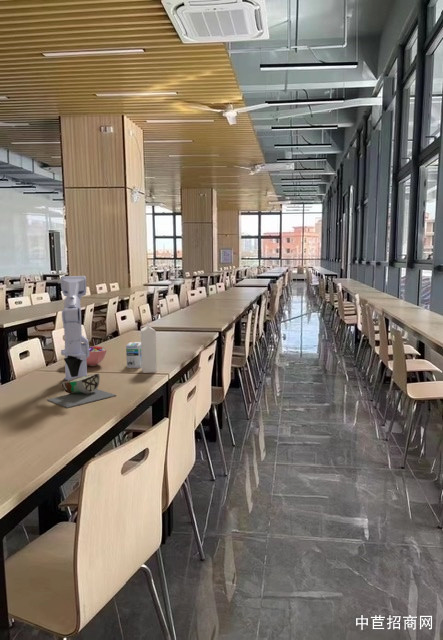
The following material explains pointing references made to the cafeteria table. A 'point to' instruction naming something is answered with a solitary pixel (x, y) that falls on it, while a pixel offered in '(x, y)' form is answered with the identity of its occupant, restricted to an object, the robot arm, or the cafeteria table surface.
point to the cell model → (95, 355)
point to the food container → (82, 384)
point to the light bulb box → (133, 355)
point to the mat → (80, 398)
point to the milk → (148, 349)
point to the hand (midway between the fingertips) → (74, 376)
